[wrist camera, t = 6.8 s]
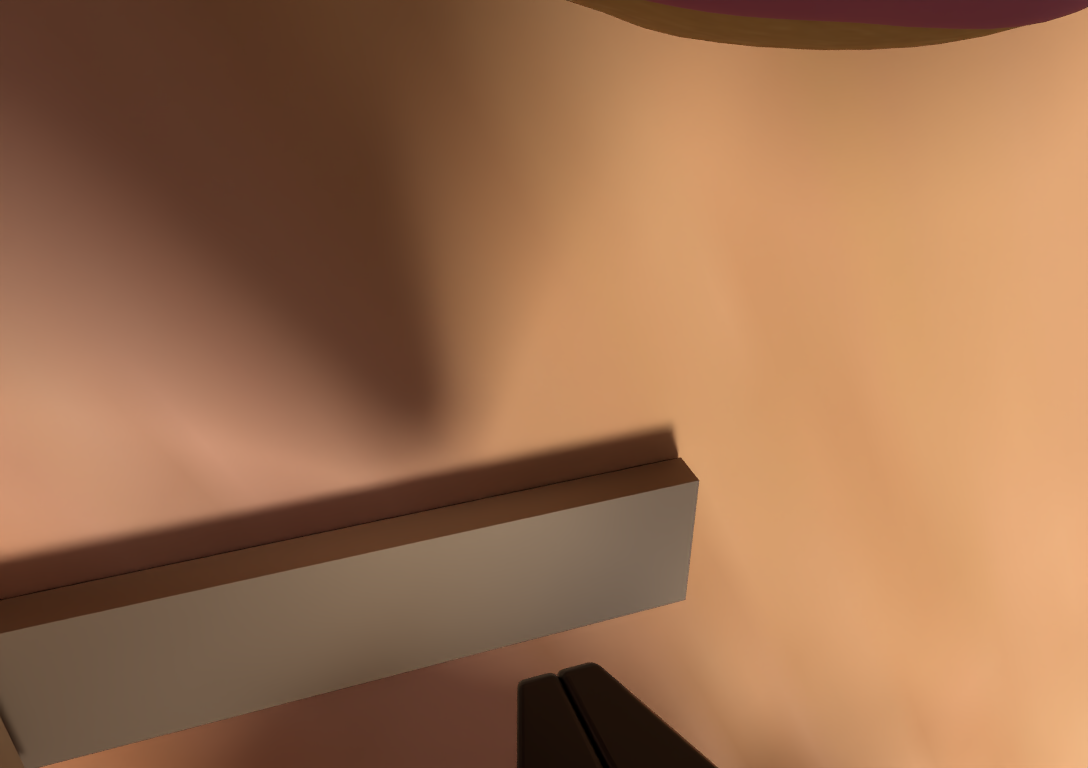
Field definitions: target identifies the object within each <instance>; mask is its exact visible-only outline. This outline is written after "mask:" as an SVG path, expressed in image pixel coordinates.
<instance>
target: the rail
mask: <svg viewBox="0 0 1088 768" xmlns="http://www.w3.org/2000/svg"><path fill="white" fill-rule="evenodd" d="M698 486H699V480H698V478H697V477H696V476H695V475H694V473H693V472H692V471H691V470H690V468H689V467H688V466H687V465H686V463H685V462H684V461H683V460H682V458H676V459H671V460H667V461H662V462H657V463H652V464H648V465H643V466H638V467H633V468H629V469H624V470H619V471H614V472H609V473H605V474H600V475H595V476H590V477H586V478H581V479H576V480H571V481H567V482H562V483H557V484H552V485H548V486H543V487H538V488H533V489H529V490H524V491H519V492H514V493H509V494H505V495H500V496H495V497H490V498H486V499H481V500H476V501H471V502H467V503H462V504H457V505H452V506H448V507H443V508H438V509H433V510H428V511H424V512H419V513H414V514H409V515H405V516H400V517H395V518H390V519H386V520H381V521H376V522H371V523H367V524H362V525H357V526H352V527H348V528H343V529H338V530H333V531H328V532H324V533H319V534H314V535H309V536H305V537H300V538H295V539H290V540H286V541H281V542H276V543H271V544H267V545H262V546H257V547H252V548H247V549H243V550H238V551H233V552H228V553H224V554H219V555H214V556H209V557H205V558H200V559H195V560H190V561H186V562H181V563H176V564H171V565H167V566H162V567H157V568H152V569H147V570H143V571H138V572H133V573H128V574H124V575H119V576H114V577H109V578H105V579H100V580H95V581H90V582H86V583H81V584H76V585H71V586H66V587H62V588H57V589H52V590H47V591H43V592H38V593H33V594H28V595H24V596H19V597H14V598H9V599H5V600H0V717H1V719H2V722H3V724H4V726H5V728H6V730H7V732H8V734H9V736H10V738H11V740H12V742H13V744H14V746H15V748H16V751H17V753H18V755H19V757H20V759H21V761H22V763H23V765H24V767H25V768H39V767H43V766H47V765H50V764H54V763H58V762H62V761H66V760H70V759H74V758H77V757H81V756H85V755H89V754H93V753H97V752H101V751H104V750H108V749H112V748H116V747H120V746H124V745H128V744H131V743H135V742H139V741H143V740H147V739H151V738H155V737H158V736H162V735H166V734H170V733H174V732H178V731H182V730H185V729H189V728H193V727H197V726H201V725H205V724H209V723H212V722H216V721H220V720H224V719H228V718H232V717H235V716H239V715H243V714H247V713H251V712H255V711H259V710H262V709H266V708H270V707H274V706H278V705H282V704H286V703H289V702H293V701H297V700H301V699H305V698H309V697H313V696H316V695H320V694H324V693H328V692H332V691H336V690H340V689H343V688H347V687H351V686H355V685H359V684H363V683H367V682H370V681H374V680H378V679H382V678H386V677H390V676H394V675H397V674H401V673H405V672H409V671H413V670H417V669H421V668H424V667H428V666H432V665H436V664H440V663H444V662H447V661H451V660H455V659H459V658H463V657H467V656H471V655H474V654H478V653H482V652H486V651H490V650H494V649H498V648H501V647H505V646H509V645H513V644H517V643H521V642H525V641H528V640H532V639H536V638H540V637H544V636H548V635H552V634H555V633H559V632H563V631H567V630H571V629H575V628H579V627H582V626H586V625H590V624H594V623H598V622H602V621H606V620H609V619H613V618H617V617H621V616H625V615H629V614H633V613H636V612H640V611H644V610H648V609H652V608H656V607H659V606H663V605H667V604H671V603H675V602H679V601H683V600H685V599H686V590H687V581H688V573H689V564H690V555H691V547H692V538H693V529H694V520H695V512H696V503H697V494H698Z"/></svg>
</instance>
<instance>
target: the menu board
mask: <svg viewBox="0 0 1088 768" xmlns="http://www.w3.org/2000/svg"><path fill="white" fill-rule="evenodd" d="M0 768H25V767H24V765H23V763H22V761H21V759H20V757H19V755H18V753H17V751H16V748H15V746H14V744H13V742H12V740H11V738H10V736H9V734H8V732H7V730H6V728H5V726H4V724H3V722H2V719H1V717H0Z"/></svg>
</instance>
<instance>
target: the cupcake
mask: <svg viewBox="0 0 1088 768" xmlns="http://www.w3.org/2000/svg"><path fill="white" fill-rule="evenodd" d="M567 1H570V2H573V3H576V4H580V5H583V6H586V7H589V8H592V9H595V10H598V11H601V12H604V13H606V14H609V15H612V16H614V17H616V18H619V19H622V20H624V21H627V22H629V23H632V24H635V25H637V26H640V27H643V28H646V29H650V30H654V31H658V32H662V33H666V34H670V35H674V36H678V37H684V38H691V39H698V40H705V41H712V42H718V43H727V44H737V45H746V46H756V47H774V48H792V49H814V50H871V49H887V48H905V47H918V46H926V45H935V44H942V43H948V42H954V41H960V40H965V39H971V38H976V37H982V36H987V35H991V34H994V33H998V32H1002V31H1006V30H1010V29H1013V28H1017V27H1021V26H1025V25H1031V24H1036V23H1041V22H1046V21H1049V20H1053V19H1056V18H1059V17H1063V16H1066V15H1069V14H1072V13H1075V12H1077V11H1080V10H1082V9H1084V8H1087V7H1088V0H567Z"/></svg>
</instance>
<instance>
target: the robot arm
mask: <svg viewBox="0 0 1088 768" xmlns="http://www.w3.org/2000/svg"><path fill="white" fill-rule="evenodd" d="M517 768H718V767H717V766H715V765H714V764H713V763H712V762H711V761H710V760H708V759H707V758H706V757H705V756H704V755H703V754H702V753H700V752H699V751H698V750H697V749H696V748H695V747H693V746H692V745H691V744H690V743H689V742H688V741H686V740H685V739H684V738H683V737H682V736H681V735H680V734H678V733H677V732H676V731H675V730H674V729H673V728H671V727H670V726H669V725H668V724H667V723H666V722H664V721H663V720H662V719H661V718H660V717H659V716H658V715H656V714H655V713H654V712H653V711H652V710H651V709H649V708H648V707H647V706H646V705H645V704H644V703H643V702H641V701H640V700H639V699H638V698H637V697H636V696H634V695H633V694H632V693H631V692H630V691H629V690H627V689H626V688H625V687H624V686H623V685H622V684H621V683H619V682H618V681H617V680H616V679H615V678H614V677H612V676H611V675H610V674H609V673H608V672H607V671H605V670H604V669H603V668H602V667H601V666H599V665H598V664H595V663H585V664H581V665H577V666H574V667H570V668H566V669H563V670H561V671H559V673H558V674H557V676H556V675H555V674H553V673H547V674H543V675H539V676H536V677H532V678H528V679H524V680H522V681H520V682H519V684H518V687H517Z"/></svg>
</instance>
